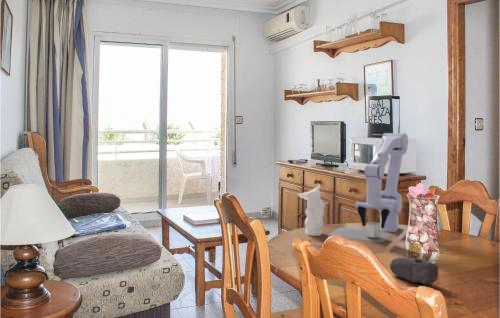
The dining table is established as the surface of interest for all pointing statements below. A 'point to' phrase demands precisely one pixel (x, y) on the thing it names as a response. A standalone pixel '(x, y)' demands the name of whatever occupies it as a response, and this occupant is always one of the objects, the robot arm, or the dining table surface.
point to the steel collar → (373, 229)
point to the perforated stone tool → (415, 270)
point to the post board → (359, 234)
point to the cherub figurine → (313, 211)
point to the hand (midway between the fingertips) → (373, 226)
